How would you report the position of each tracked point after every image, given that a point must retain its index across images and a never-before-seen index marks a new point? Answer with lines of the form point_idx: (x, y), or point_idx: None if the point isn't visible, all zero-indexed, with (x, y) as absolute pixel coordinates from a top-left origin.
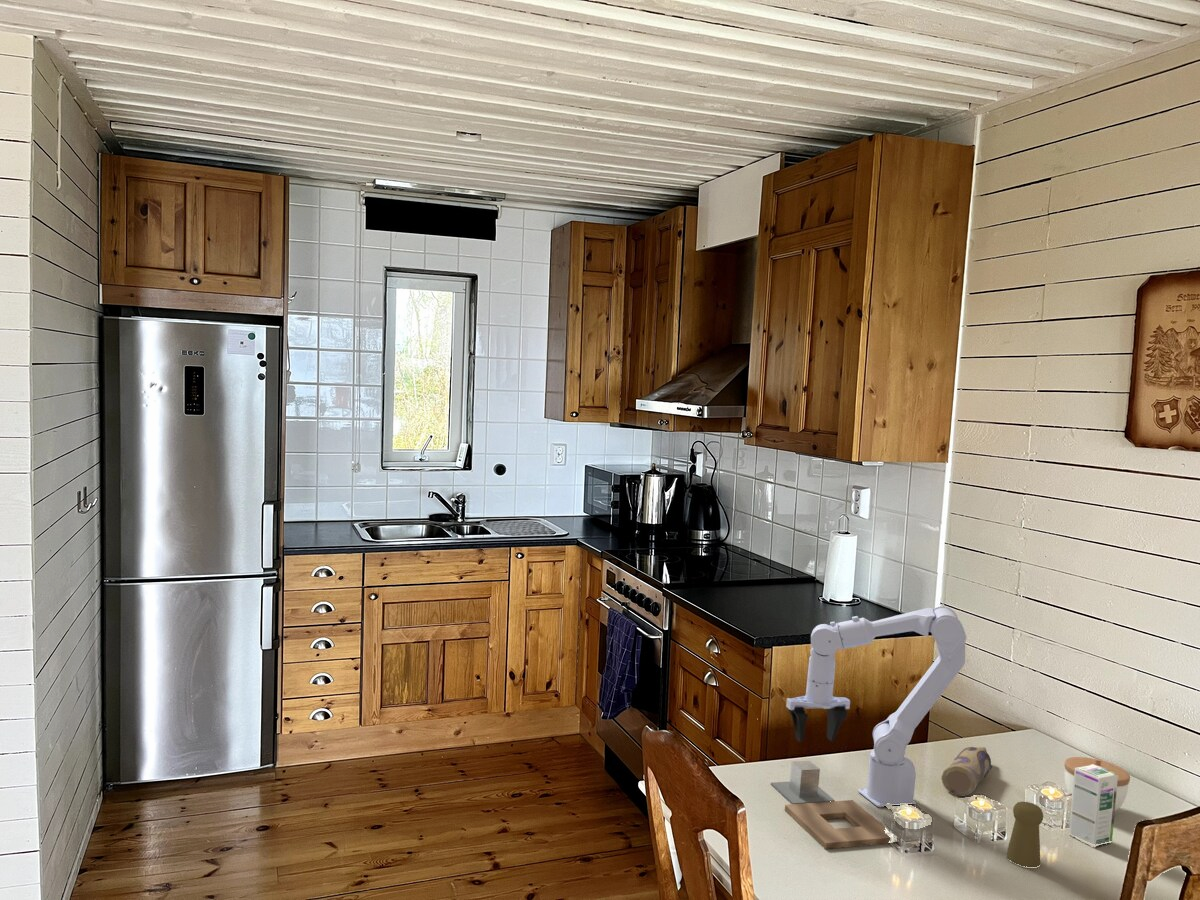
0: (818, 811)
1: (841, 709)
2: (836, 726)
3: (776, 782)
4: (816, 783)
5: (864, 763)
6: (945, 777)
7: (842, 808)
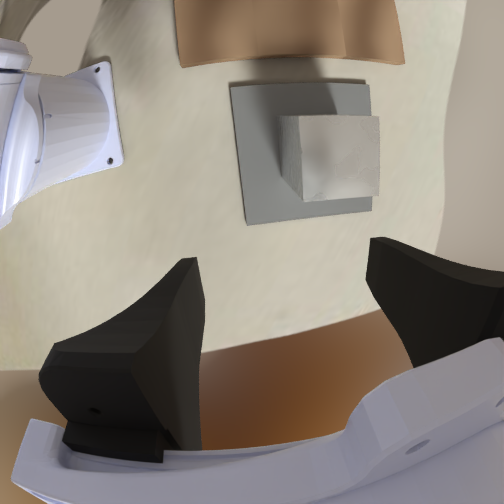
0: (331, 9)
1: (96, 427)
2: (164, 299)
3: (356, 211)
4: (293, 115)
5: (71, 324)
6: None
7: (245, 13)
